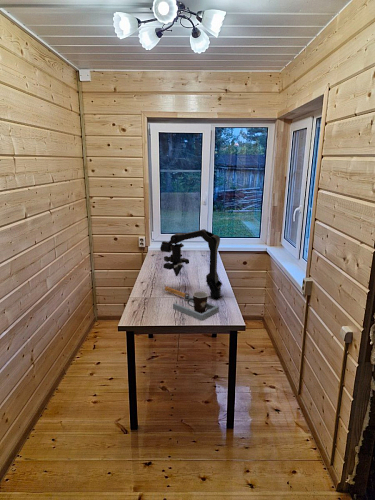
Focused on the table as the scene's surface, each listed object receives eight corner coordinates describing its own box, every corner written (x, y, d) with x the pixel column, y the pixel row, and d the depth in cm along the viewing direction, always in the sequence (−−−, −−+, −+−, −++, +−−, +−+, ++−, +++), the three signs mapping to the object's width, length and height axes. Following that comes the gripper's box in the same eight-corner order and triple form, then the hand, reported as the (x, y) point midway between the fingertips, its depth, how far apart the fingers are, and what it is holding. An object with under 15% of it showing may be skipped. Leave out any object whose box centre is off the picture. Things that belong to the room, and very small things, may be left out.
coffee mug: (206, 307, 189) (207, 291, 186) (208, 314, 180) (208, 297, 178) (187, 307, 188) (187, 291, 186) (187, 314, 180) (187, 297, 177)
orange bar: (190, 297, 198) (190, 294, 198) (187, 299, 196) (187, 295, 195) (167, 289, 212) (167, 286, 211) (164, 290, 209) (164, 287, 209)
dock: (186, 298, 201) (186, 293, 200) (219, 310, 184) (219, 306, 183) (168, 306, 190) (168, 301, 189) (201, 320, 173) (201, 315, 172)
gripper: (177, 248, 218) (177, 269, 222) (157, 253, 204) (157, 276, 209) (189, 251, 210) (189, 273, 215) (169, 257, 197) (169, 280, 201)
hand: (176, 276), depth 210 cm, fingers closed
